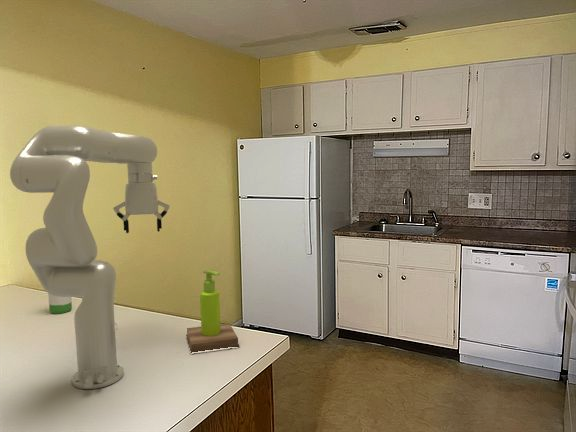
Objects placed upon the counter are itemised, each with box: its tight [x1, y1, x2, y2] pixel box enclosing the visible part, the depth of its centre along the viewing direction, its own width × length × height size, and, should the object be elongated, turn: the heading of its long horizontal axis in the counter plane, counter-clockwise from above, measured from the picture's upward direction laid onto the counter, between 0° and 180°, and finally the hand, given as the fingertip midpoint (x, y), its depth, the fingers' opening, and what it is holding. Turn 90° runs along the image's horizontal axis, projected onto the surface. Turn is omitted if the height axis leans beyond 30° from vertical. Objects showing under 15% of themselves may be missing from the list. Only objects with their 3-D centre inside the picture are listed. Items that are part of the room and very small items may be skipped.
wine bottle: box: [47, 293, 73, 315], centre depth 172 cm, size 8×8×30 cm
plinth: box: [185, 322, 240, 354], centre depth 141 cm, size 15×15×3 cm
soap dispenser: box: [199, 269, 221, 336], centre depth 140 cm, size 6×7×20 cm
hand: (143, 231), depth 146 cm, fingers open, 9 cm apart
